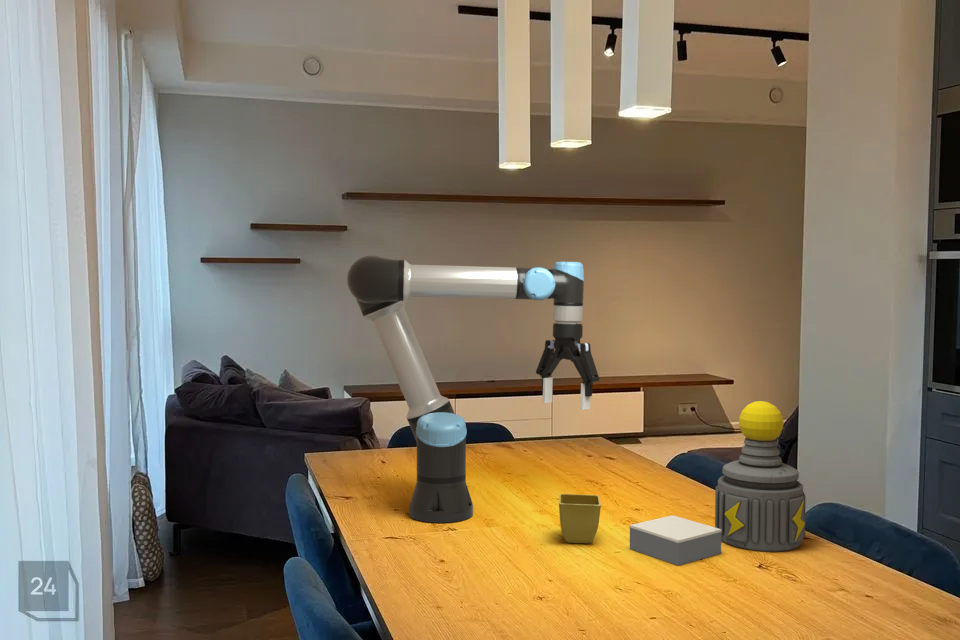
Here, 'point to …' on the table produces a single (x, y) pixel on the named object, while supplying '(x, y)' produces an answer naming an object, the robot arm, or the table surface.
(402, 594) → the table surface
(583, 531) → the flower pot
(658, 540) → the plinth
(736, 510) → the decorative lamp
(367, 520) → the table surface
